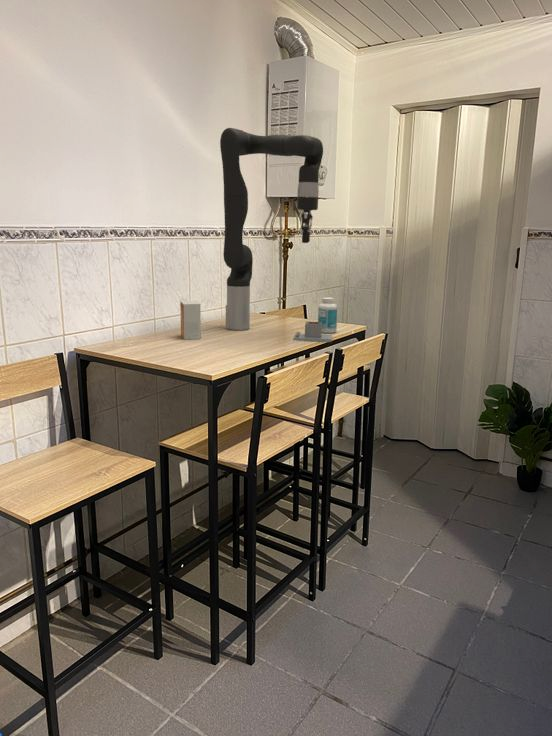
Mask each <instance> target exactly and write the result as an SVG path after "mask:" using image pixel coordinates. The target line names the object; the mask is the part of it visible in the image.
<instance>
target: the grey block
mask: <svg viewBox="0 0 552 736" xmlns="http://www.w3.org/2000/svg"><path fill="white" fill-rule="evenodd" d="M304 334H305V338H321V335H322V322H318V321H305V323H304Z"/></svg>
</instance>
